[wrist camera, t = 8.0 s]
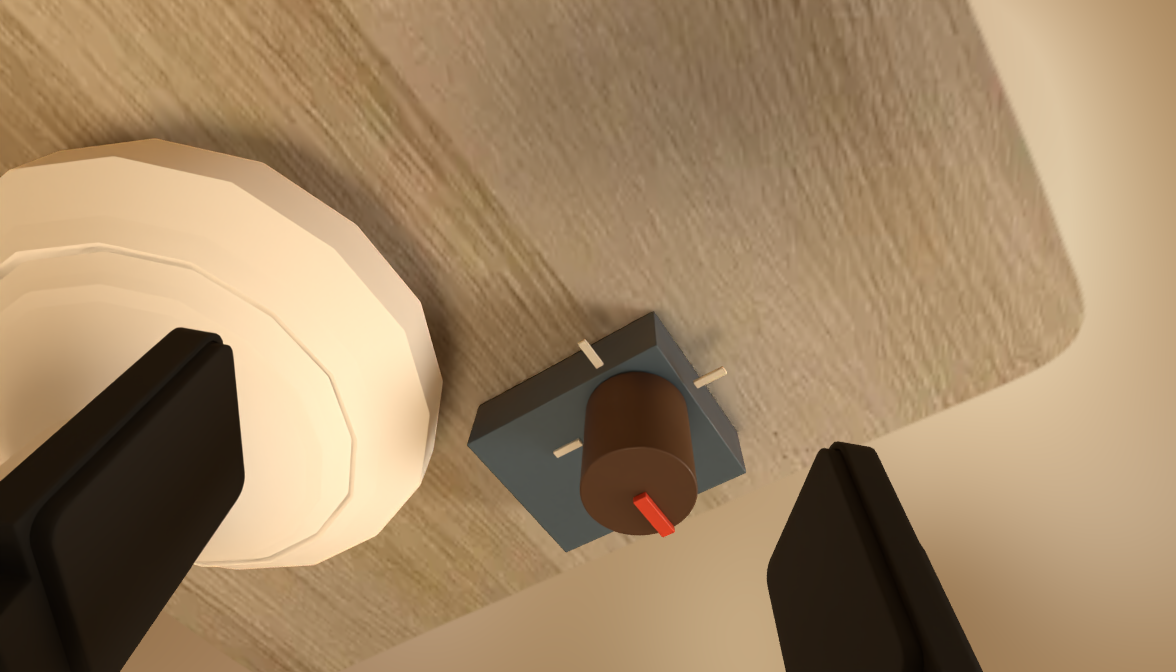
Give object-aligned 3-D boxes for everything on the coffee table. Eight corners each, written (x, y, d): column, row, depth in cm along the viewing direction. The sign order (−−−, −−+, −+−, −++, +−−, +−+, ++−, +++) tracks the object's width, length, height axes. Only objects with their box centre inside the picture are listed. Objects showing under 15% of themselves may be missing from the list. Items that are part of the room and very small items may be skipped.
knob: (566, 400, 30) (555, 484, 26) (653, 353, 29) (658, 433, 24) (621, 467, 32) (621, 557, 27) (706, 426, 30) (720, 513, 26)
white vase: (-76, 209, 30) (-933, 546, 14) (319, 42, 26) (-217, 233, 9) (198, 529, 39) (-115, 966, 23) (524, 443, 35) (433, 900, 19)
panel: (668, 259, 30) (672, 292, 27) (770, 416, 34) (783, 459, 31) (455, 380, 34) (440, 420, 31) (569, 510, 37) (565, 555, 35)
